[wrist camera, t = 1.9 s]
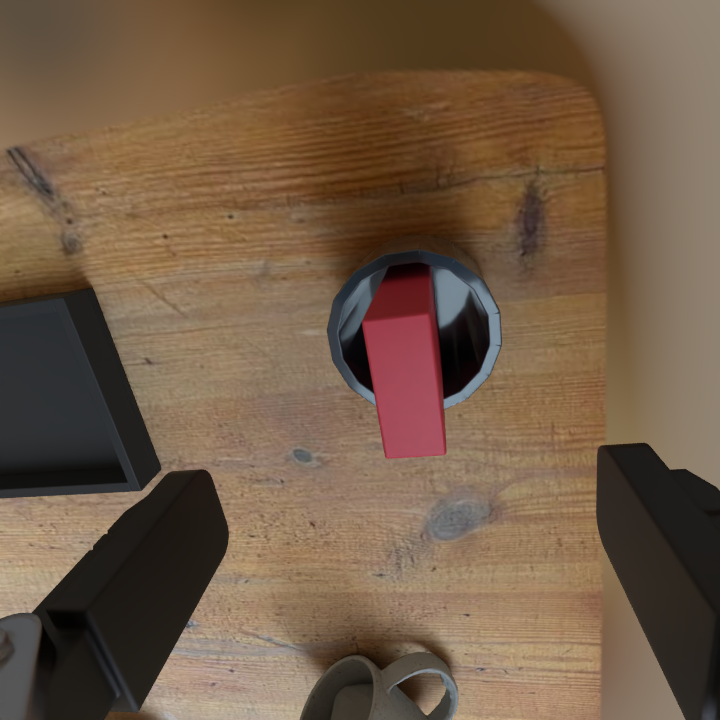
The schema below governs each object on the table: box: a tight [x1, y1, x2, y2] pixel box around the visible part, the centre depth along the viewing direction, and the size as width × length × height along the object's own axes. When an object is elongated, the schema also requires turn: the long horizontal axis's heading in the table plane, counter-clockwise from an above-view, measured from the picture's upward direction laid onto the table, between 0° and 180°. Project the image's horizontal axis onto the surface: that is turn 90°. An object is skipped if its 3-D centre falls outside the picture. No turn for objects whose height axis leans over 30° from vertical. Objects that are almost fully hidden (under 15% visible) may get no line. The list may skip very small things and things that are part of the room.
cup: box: [327, 234, 502, 409], centre depth 21 cm, size 7×7×6 cm
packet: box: [362, 262, 446, 459], centre depth 18 cm, size 2×5×10 cm, turn 10°
